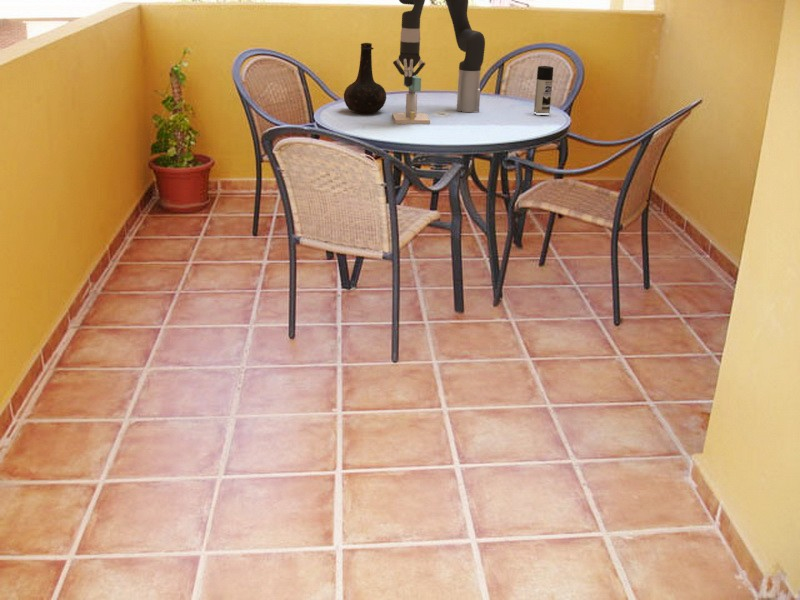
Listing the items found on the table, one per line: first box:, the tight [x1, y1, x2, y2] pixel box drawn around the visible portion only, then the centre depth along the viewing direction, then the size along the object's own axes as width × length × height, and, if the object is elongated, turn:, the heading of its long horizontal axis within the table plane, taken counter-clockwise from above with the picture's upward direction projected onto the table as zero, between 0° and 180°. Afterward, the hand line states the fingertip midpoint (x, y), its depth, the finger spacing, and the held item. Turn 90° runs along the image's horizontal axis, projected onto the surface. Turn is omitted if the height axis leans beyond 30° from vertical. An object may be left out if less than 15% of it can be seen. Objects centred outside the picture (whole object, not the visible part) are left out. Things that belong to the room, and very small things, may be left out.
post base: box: [391, 92, 431, 125], centre depth 340 cm, size 14×14×10 cm
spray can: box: [533, 65, 554, 114], centre depth 358 cm, size 7×7×20 cm
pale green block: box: [403, 75, 422, 94], centre depth 337 cm, size 15×3×7 cm, turn 16°
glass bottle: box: [343, 42, 387, 115], centre depth 350 cm, size 18×18×28 cm
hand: (408, 86), depth 331 cm, fingers closed
